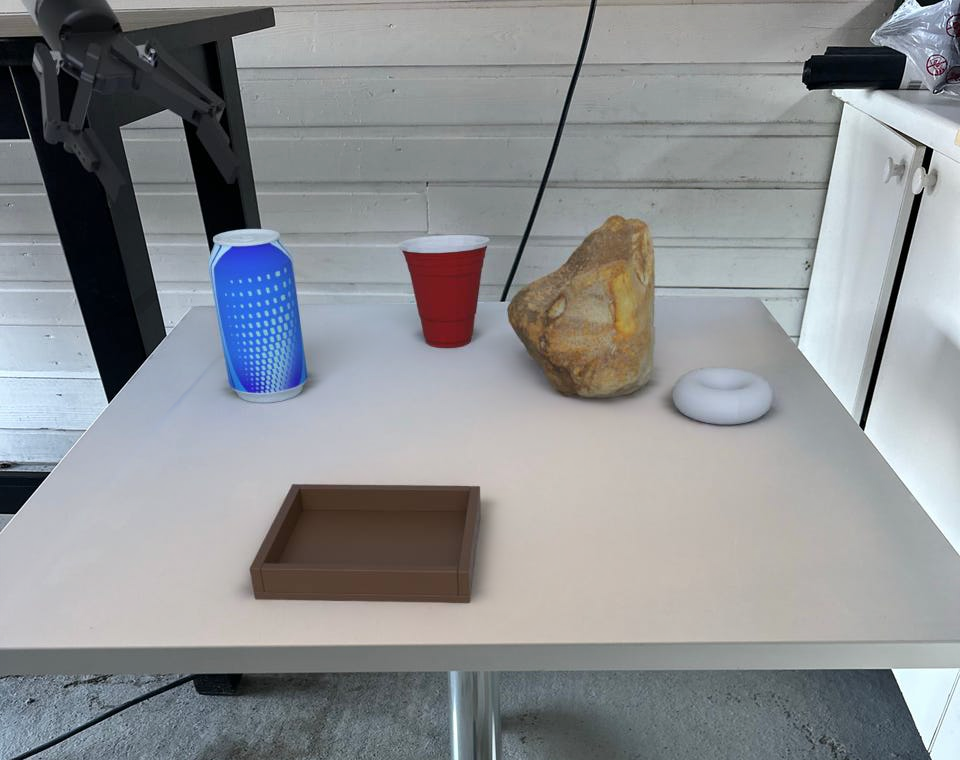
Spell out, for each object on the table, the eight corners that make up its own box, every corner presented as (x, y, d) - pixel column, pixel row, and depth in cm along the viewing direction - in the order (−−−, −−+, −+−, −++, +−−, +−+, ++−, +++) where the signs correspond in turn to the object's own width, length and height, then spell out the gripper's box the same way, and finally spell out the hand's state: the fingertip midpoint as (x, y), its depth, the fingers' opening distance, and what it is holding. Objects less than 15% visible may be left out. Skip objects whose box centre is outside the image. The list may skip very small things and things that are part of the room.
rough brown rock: (531, 341, 116) (521, 214, 108) (664, 337, 112) (665, 204, 103) (488, 415, 98) (472, 270, 90) (645, 414, 94) (644, 261, 85)
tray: (254, 599, 67) (248, 568, 65) (296, 511, 78) (292, 483, 76) (469, 603, 66) (468, 571, 64) (480, 514, 77) (480, 485, 75)
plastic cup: (475, 323, 120) (473, 224, 113) (503, 348, 112) (502, 243, 105) (394, 333, 118) (387, 232, 111) (417, 358, 109) (410, 251, 102)
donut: (730, 389, 100) (651, 402, 96) (735, 357, 98) (655, 369, 95) (790, 421, 92) (706, 436, 89) (797, 387, 90) (712, 401, 87)
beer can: (300, 374, 106) (280, 224, 96) (316, 398, 99) (296, 240, 90) (226, 384, 103) (198, 231, 94) (237, 410, 97) (208, 248, 88)
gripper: (166, 33, 106) (266, 191, 106) (-55, 46, 91) (62, 229, 91) (182, -25, 100) (288, 143, 100) (-52, -21, 85) (73, 175, 85)
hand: (180, 184), depth 96 cm, fingers open, 13 cm apart
